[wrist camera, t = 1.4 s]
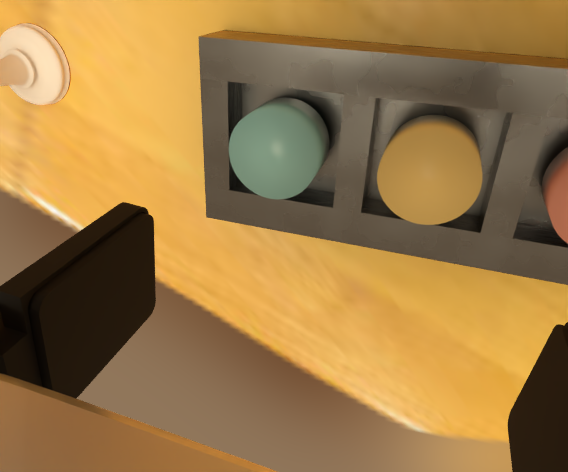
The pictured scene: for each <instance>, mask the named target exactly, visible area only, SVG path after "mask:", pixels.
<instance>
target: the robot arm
mask: <svg viewBox="0 0 568 472" xmlns="http://www.w3.org/2000/svg"><path fill="white" fill-rule="evenodd" d="M155 299H156V298H155V255H154V220H153V217H152V216H151V215H149V214H148V211H147V209H146V208H144V207H140V206H137V205H133V204H129V203H124V202H123V203H120V204H119V205H117V206H116V207H114V208H113V209H112V210H110V211H109V212H107V213H106V214H104V215H103V216H101V217H100V218H98V219H97V220H96V221H94V222H93V223H91V224H90V225H88V226H87V227H85V228H84V229H83V230H81V231H80V232H78V233H77V234H75V235H74V236H73V237H71V238H69V239H68V240H67V241H65V242H64V243H62V244H61V245H59V246H58V247H56V248H55V249H54V250H52V251H51V252H49V253H48V254H46V255H45V256H43V257H42V258H40V259H39V260H38V261H36V262H35V263H33V264H32V265H30V266H29V267H27V268H26V269H24V270H23V271H22V272H20V273H19V274H17V275H16V276H15V277H13V278H11V279H10V280H9V281H7V282H6V283H4V284H3V285H1V286H0V472H277V471H274V470H272V469H269V468H266V467H263V466H261V465H258V464H255V463H253V462H250V461H247V460H244V459H242V458H239V457H236V456H233V455H231V454H228V453H225V452H222V451H220V450H217V449H214V448H211V447H209V446H206V445H203V444H200V443H198V442H195V441H192V440H189V439H187V438H184V437H181V436H179V435H176V434H173V433H170V432H167V431H165V430H162V429H159V428H156V427H154V426H151V425H148V424H145V423H142V422H140V421H137V420H134V419H131V418H128V417H125V416H123V415H120V414H117V413H115V412H112V411H109V410H106V409H103V408H101V407H98V406H95V405H92V404H89V403H87V402H84V401H81V400H78V399H76V398H77V397H78V396H79V395H80V394H81V393H82V391H84V389H85V388H86V387H87V386H88V385H89V384H90V383H91V381H92V380H93V379H94V378H95V377H96V376H97V375H98V374H99V373H100V371H101V370H102V369H103V368H104V367H105V366H106V365H107V364H108V362H109V361H110V360H111V359H112V358H113V357H114V355H116V353H117V352H118V351H119V350H120V349H121V348H122V347H123V346H124V345H125V343H126V342H127V341H128V340H129V339H130V338H131V337H132V336H133V334H134V333H135V332H136V331H137V330H138V329H139V328H140V326H141V325H142V324H143V323H144V322H145V321H146V320H147V319H148V317H149V316H150V315H151V314H152V312H153V310H154V307H155V301H156V300H155ZM508 434H509V443H510V452H511V461H512V470H513V472H568V322H567V323H566V324H565V326H563V325H560V324H558V325H556V326H555V327H554V329H553V331H552V333H551V334H550V336H549V338H548V340H547V342H546V344H545V346H544V348H543V350H542V352H541V354H540V356H539V358H538V359H537V361H536V363H535V365H534V367H533V369H532V371H531V373H530V375H529V377H528V379H527V381H526V383H525V384H524V386H523V388H522V390H521V392H520V394H519V396H518V398H517V400H516V402H515V404H514V406H513V407H512V409H511V412H510V415H509V419H508Z"/></svg>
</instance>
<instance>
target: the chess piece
mask: <svg viewBox="0 0 568 472" xmlns="http://www.w3.org/2000/svg"><path fill="white" fill-rule="evenodd" d="M69 83H70V71H69V66H68V62H67V59H66V56H65V54H64V52H63V50H62V48H61V47H60V45H59V44H58V42H57V41H56V40H55V39H54V38H53V37H52V36H51V35H50V34H49V33H48V32H47V31H45V30H44V29H42V28H41V27H39V26H36V25H33V24H29V23H23V24H19V25H16V26H13V27H11V28H9V29H7V30H6V31H5V32H4V33H3V34H2V36H1V38H0V86H5V85H9V86H10V88H11V89H12V90H13V91H14V92H15V93H16V94H17V95H18V96H20V97H21V98H22V99H24V100H25V101H27V102H30V103H32V104H36V105H46V104H53V103H56V102H58V101H60V100H61V99H62V98H63V97H64V96H65V94H66V93H67V90H68V87H69Z"/></svg>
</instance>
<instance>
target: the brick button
mask: <svg viewBox="0 0 568 472" xmlns="http://www.w3.org/2000/svg"><path fill="white" fill-rule="evenodd" d="M542 196H543V200H544V203H545V205H546V208H547V211H548V214H549V216H550V219H551V222H552V224H553V227H554V229H555V231H556V232H557V234H558V235H559V236H560V237H561V238H562V239H563V240H564V241H565V242H566V243H567V244H568V147H567V148H565V149H564V150H563V151H561V152H560V153H559V154H558V155H557V156H556V157H555V158H554V159H553V160H552V162H551V163H550V164H549V166H548V168H547V169H546V172H545V174H544V177H543V181H542Z"/></svg>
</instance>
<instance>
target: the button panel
mask: <svg viewBox="0 0 568 472" xmlns="http://www.w3.org/2000/svg"><path fill="white" fill-rule="evenodd" d="M199 57H200V80H201V102H202V125H203V148H204V171H205V193H206V216H207V217H208V218H213V219H219V220H224V221H229V222H235V223H240V224H245V225H251V226H256V227H261V228H267V229H272V230H278V231H283V232H288V233H294V234H299V235H304V236H310V237H315V238H320V239H326V240H331V241H336V242H342V243H347V244H352V245H358V246H363V247H368V248H374V249H379V250H384V251H390V252H395V253H400V254H406V255H411V256H417V257H422V258H427V259H433V260H438V261H443V262H449V263H454V264H459V265H465V266H470V267H475V268H481V269H486V270H491V271H497V272H502V273H507V274H513V275H518V276H523V277H529V278H534V279H540V280H545V281H550V282H556V283H561V284H566V285H568V244H567V243H566V242H565V241H564V240H563V239H562V238H561V237H560V236H559V235H558V234H557V232H556V231H555V229H554V227H553V224H552V222H551V219H550V216H549V214H548V211H547V208H546V205H545V203H544V200H543V196H542V181H543V177H544V174H545V172H546V169H547V168H548V166H549V164H550V163H551V162H552V160H553V159H554V158H555V157H556V156H557V155H558V154H559V153H560V152H561V151H563V150H564V149H565V148H567V147H568V59H563V58H551V57H539V56H527V55H515V54H503V53H491V52H479V51H467V50H455V49H443V48H431V47H419V46H407V45H395V44H383V43H371V42H359V41H347V40H335V39H323V38H311V37H299V36H287V35H275V34H263V33H251V32H239V31H227V30H222V31H218V32H214V33H211V34H207V35H203V36H199ZM282 97H287V98H294V99H298V100H301V101H303V102H305V103H307V104H308V105H310V106H311V107H312V108H313V109H315V110H316V111H317V113H318V114H319V115H320V116H321V118H322V119H323V121H324V123H325V125H326V127H327V130H328V134H329V152H328V155H327V158H326V160H325V162H324V164H323V165H322V167H321V168H320V170H319V171H318V173H317V174H316V175H315V177H314V178H313V180H312V181H311V183H310V184H309V185H308V186H307V188H306V189H304V190H303V191H302V192H301V193H299V194H298V195H295V196H293V197H290V198H287V199H270V198H265V197H263V196H260V195H258V194H256V193H254V192H253V191H251V190H250V189H248V188H247V187H246V186H245V185H244V184H243V183H242V182H241V181H240V179H239V178H238V177H237V175H236V174H235V172H234V170H233V168H232V165H231V162H230V157H229V141H230V137H231V134H232V132H233V130H234V128H235V126H236V125H237V124H238V122H239V121H240V120H241V119H243V118H244V117H245V116H246V115H248V114H249V113H251V112H252V111H254V110H255V109H257V108H258V107H260V106H261V105H263V104H264V103H266V102H267V101H270V100H272V99H276V98H282ZM425 115H442V116H447V117H450V118H453V119H455V120H457V121H459V122H461V123H462V124H464V125H465V126H466V127H467V128H468V129H469V130H470V131H471V132H472V133H473V135H474V137H475V138H476V140H477V143H478V145H479V149H480V157H481V166H482V185H481V189H480V192H479V195H478V197H477V199H476V200H475V202H474V203H473V205H472V206H471V207H470V208H469V209H468V210H467V211H466V212H465V213H463V214H462V215H460V216H459V217H457V218H455V219H453V220H451V221H448V222H446V223H441V224H435V225H423V224H417V223H412V222H410V221H407V220H405V219H403V218H401V217H399V216H398V215H396V214H395V213H394V212H393V211H391V210H390V209H389V207H388V206H387V205H386V204H385V202H384V201H383V199H382V197H381V195H380V192H379V189H378V184H377V172H378V167H379V164H380V161H381V159H382V156H383V154H384V151H385V149H386V146H387V144H388V142H389V140H390V138H391V137H392V135H393V134H394V133H395V132H396V131H397V129H398V128H400V127H401V126H402V125H403V124H405V123H406V122H408V121H410V120H412V119H414V118H417V117H420V116H425Z"/></svg>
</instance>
